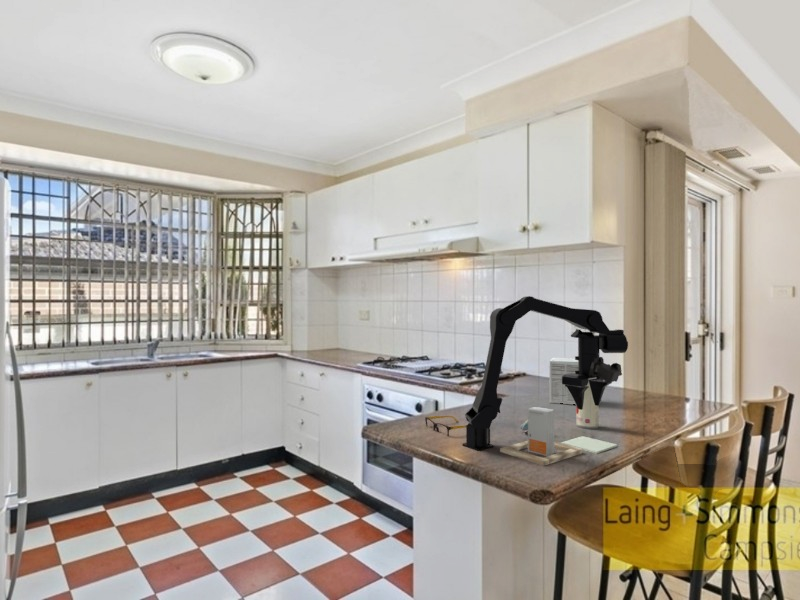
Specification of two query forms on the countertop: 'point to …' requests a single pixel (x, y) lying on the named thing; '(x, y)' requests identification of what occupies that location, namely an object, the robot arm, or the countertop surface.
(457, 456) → the countertop surface
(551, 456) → the wooden frame
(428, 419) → the eyeglasses
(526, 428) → the pacifier
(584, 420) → the aerosol can
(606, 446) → the sage mat
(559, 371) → the supplement box
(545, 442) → the skincare box
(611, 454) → the countertop surface
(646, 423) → the countertop surface
